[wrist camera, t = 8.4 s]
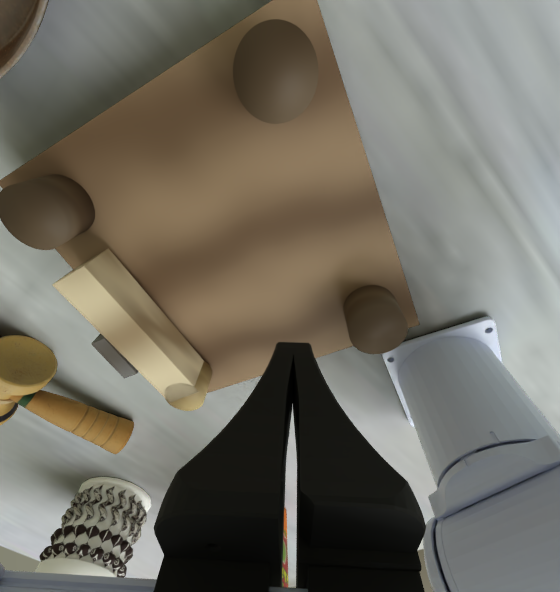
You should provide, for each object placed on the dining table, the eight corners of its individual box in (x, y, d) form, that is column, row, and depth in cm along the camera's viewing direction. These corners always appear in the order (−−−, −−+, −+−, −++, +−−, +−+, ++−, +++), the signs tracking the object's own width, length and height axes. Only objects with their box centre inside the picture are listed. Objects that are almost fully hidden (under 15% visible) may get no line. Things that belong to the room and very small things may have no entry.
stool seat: (408, 303, 22) (436, 353, 18) (195, 376, 27) (174, 430, 22) (307, -5, 14) (311, -57, 10) (31, 173, 19) (-53, 194, 14)
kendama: (161, 390, 30) (-62, 278, 22) (133, 461, 26) (-162, 353, 17) (123, 412, 34) (-77, 324, 26) (93, 476, 30) (-161, 394, 21)
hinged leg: (219, 377, 23) (211, 403, 21) (190, 388, 24) (180, 414, 22) (109, 247, 18) (85, 265, 16) (77, 266, 19) (50, 285, 17)
